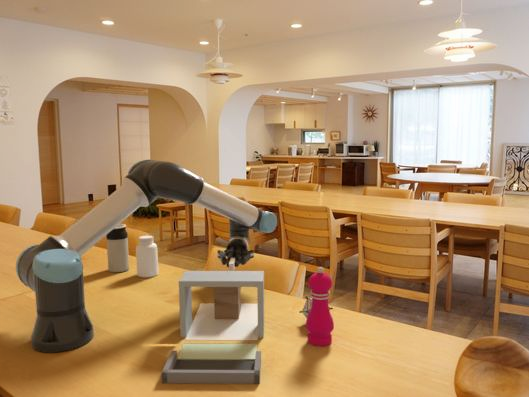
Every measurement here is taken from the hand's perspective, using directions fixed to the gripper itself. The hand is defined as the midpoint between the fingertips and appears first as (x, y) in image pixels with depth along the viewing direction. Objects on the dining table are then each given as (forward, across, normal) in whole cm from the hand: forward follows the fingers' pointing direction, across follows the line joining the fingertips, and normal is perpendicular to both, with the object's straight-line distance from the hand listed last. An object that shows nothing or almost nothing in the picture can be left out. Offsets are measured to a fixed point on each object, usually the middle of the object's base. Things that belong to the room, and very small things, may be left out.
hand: (231, 267), depth 146 cm
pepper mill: (+25, -25, -12) cm, 38 cm away
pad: (+30, 0, -12) cm, 33 cm away
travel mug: (-38, +49, -12) cm, 63 cm away
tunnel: (+13, 0, -12) cm, 18 cm away
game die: (+14, -25, -13) cm, 32 cm away
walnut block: (+8, 0, -12) cm, 14 cm away
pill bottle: (-31, +36, -12) cm, 49 cm away
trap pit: (+41, 0, -12) cm, 43 cm away
